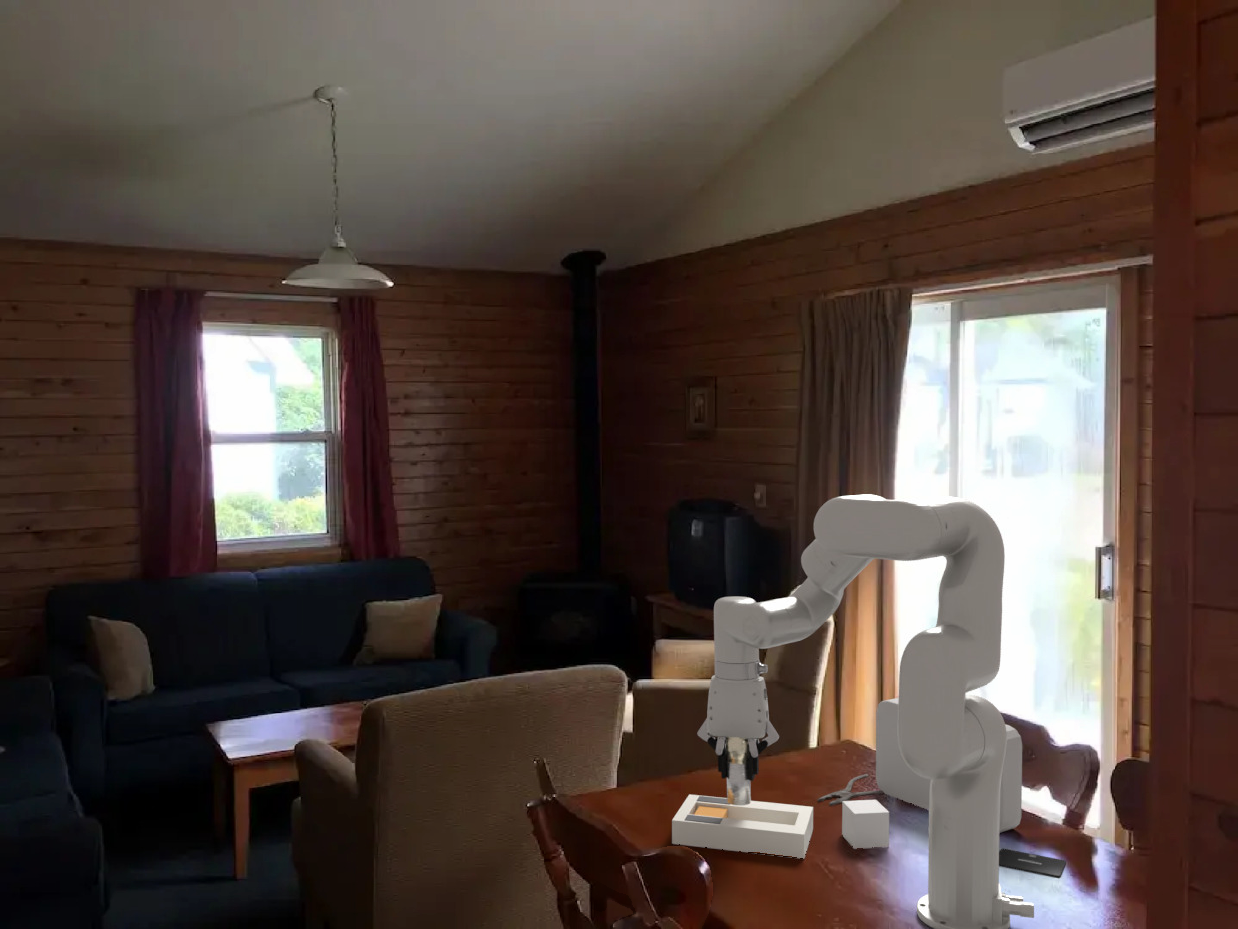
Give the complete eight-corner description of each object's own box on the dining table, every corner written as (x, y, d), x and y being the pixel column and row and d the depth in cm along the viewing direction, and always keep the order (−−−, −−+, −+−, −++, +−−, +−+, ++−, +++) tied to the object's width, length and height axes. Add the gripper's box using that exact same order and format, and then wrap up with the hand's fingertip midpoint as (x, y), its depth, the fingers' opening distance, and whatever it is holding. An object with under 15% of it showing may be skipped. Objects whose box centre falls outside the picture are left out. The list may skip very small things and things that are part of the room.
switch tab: (727, 822, 183) (727, 809, 183) (721, 834, 178) (721, 820, 178) (699, 819, 184) (699, 806, 184) (692, 830, 179) (692, 816, 179)
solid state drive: (1001, 852, 174) (1001, 848, 174) (1066, 864, 169) (1066, 860, 169) (992, 867, 168) (992, 862, 168) (1060, 880, 163) (1060, 876, 163)
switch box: (813, 829, 182) (813, 806, 182) (804, 859, 170) (804, 834, 170) (689, 816, 189) (689, 794, 188) (672, 843, 176) (672, 819, 176)
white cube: (854, 849, 174) (854, 814, 174) (842, 836, 180) (842, 801, 180) (889, 847, 175) (889, 812, 175) (875, 834, 181) (875, 799, 181)
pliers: (907, 782, 206) (863, 811, 190) (907, 786, 206) (863, 816, 190) (861, 772, 212) (815, 799, 196) (861, 776, 212) (815, 804, 196)
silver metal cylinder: (752, 798, 180) (751, 729, 180) (748, 806, 176) (747, 735, 176) (729, 796, 181) (728, 727, 181) (725, 804, 178) (723, 734, 177)
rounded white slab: (1030, 829, 183) (1031, 726, 182) (1002, 839, 178) (1003, 733, 178) (902, 783, 207) (903, 692, 206) (875, 790, 202) (875, 698, 202)
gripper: (789, 667, 180) (790, 774, 180) (693, 663, 185) (695, 767, 185) (783, 677, 173) (784, 788, 173) (683, 672, 177) (685, 780, 178)
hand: (738, 776), depth 179 cm, fingers closed on silver metal cylinder, 4 cm apart
